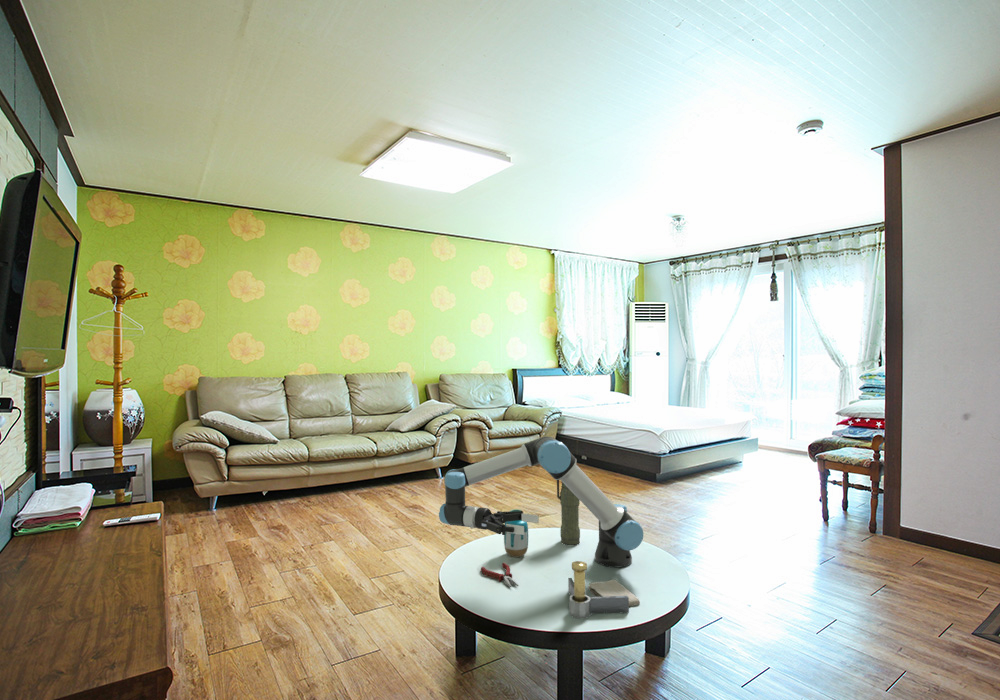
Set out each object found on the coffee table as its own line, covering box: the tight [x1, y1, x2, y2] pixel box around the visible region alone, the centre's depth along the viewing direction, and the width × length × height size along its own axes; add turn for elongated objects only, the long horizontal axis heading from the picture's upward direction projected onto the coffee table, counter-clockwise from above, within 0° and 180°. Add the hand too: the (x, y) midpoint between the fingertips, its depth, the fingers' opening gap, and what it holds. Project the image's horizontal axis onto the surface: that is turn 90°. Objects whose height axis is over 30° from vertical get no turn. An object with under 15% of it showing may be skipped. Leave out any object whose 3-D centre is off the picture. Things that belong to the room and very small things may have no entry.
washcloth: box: [587, 579, 641, 607], centre depth 184 cm, size 12×18×3 cm, turn 19°
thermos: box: [556, 480, 581, 546], centre depth 239 cm, size 9×12×35 cm
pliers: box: [480, 562, 519, 588], centre depth 200 cm, size 11×20×3 cm, turn 25°
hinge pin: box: [571, 560, 588, 602], centre depth 171 cm, size 5×5×16 cm
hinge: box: [567, 577, 630, 620], centre depth 178 cm, size 20×20×5 cm
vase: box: [503, 508, 529, 558], centre depth 223 cm, size 11×11×19 cm
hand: (531, 524), depth 182 cm, fingers open, 13 cm apart
